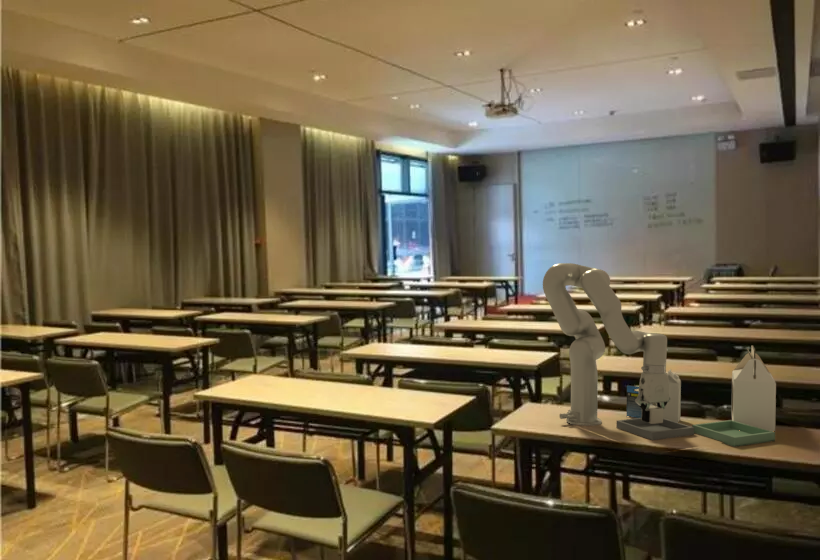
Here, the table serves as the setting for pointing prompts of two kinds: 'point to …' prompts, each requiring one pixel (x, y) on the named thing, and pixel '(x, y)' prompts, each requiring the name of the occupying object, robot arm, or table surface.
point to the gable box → (753, 393)
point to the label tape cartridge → (633, 402)
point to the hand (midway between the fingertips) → (652, 420)
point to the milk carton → (673, 398)
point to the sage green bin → (734, 433)
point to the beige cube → (655, 414)
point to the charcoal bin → (655, 428)
